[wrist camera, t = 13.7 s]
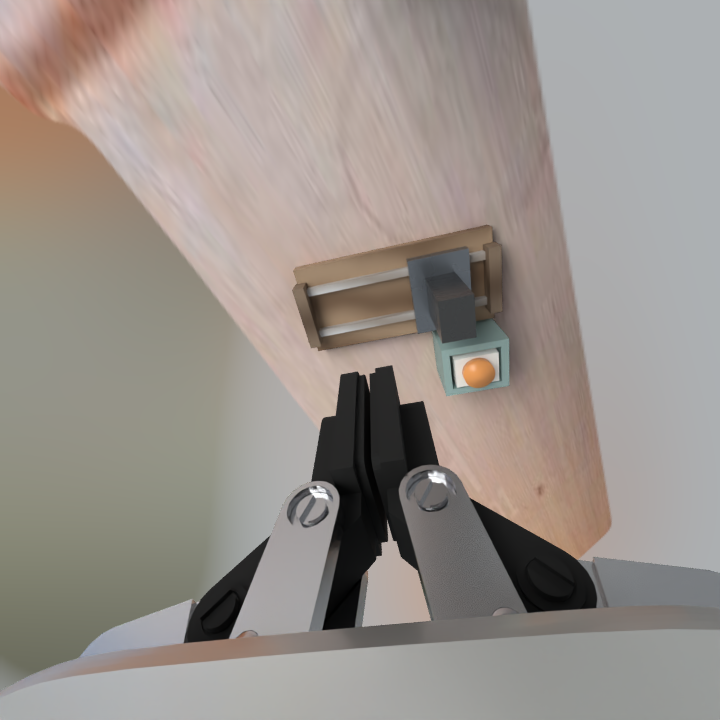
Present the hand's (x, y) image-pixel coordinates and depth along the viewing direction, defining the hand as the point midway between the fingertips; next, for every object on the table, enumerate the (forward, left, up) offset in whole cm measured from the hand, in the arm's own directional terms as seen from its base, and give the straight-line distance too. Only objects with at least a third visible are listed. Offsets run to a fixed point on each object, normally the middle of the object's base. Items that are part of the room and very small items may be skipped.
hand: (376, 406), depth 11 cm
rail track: (+6, +2, -29) cm, 30 cm away
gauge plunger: (+14, +9, -29) cm, 33 cm away
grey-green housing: (+14, +9, -29) cm, 34 cm away
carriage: (+6, +6, -26) cm, 28 cm away
